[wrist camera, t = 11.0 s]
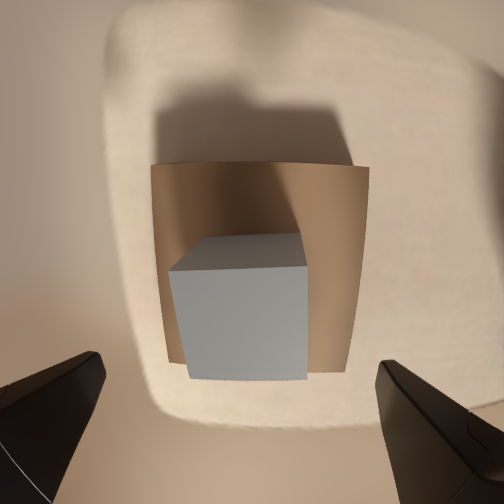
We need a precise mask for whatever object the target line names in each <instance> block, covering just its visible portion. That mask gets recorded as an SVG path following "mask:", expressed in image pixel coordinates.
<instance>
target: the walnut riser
mask: <svg viewBox="0 0 504 504" xmlns="http://www.w3.org/2000/svg"><path fill="white" fill-rule="evenodd" d="M151 185H152V209H153V226H154V240H155V253H156V264H157V275H158V284H159V293H160V302H161V310H162V318H163V325H164V333H165V339H166V346H167V352H168V359H169V362H171V363H179V364H186V359H185V355H184V351H183V346H182V341H181V337H180V332H179V327H178V322H177V317H176V312H175V307H174V302H173V297H172V291H171V286H170V280H169V274H168V271H169V270H170V269H171V268H172V267H173V266H174V265H175V264H176V263H177V262H178V261H179V260H180V259H181V258H182V257H183V256H184V255H185V254H186V253H187V252H188V251H189V250H190V249H191V248H192V247H193V246H194V245H195V244H196V243H197V242H198V241H199V240H200V239H201V238H202V237H219V236H237V235H256V234H276V233H298V232H301V237H302V242H303V247H304V251H305V256H306V261H307V267H308V366H307V372H345V368H346V363H347V358H348V353H349V348H350V343H351V337H352V331H353V325H354V319H355V313H356V307H357V300H358V293H359V286H360V278H361V270H362V261H363V252H364V242H365V232H366V219H367V206H368V189H369V167H361V166H349V165H334V164H315V163H290V162H199V163H174V164H157V165H151Z"/></svg>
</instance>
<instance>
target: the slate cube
mask: <svg viewBox="0 0 504 504" xmlns="http://www.w3.org/2000/svg"><path fill="white" fill-rule="evenodd" d="M168 274H169V280H170V286H171V291H172V297H173V302H174V307H175V312H176V317H177V322H178V327H179V332H180V337H181V341H182V346H183V351H184V355H185V359H186V364H187V368H188V372H189V376H190V379H207V380H235V381H282V380H307V366H308V267H307V261H306V256H305V251H304V247H303V242H302V237H301V232H298V233H276V234H256V235H237V236H219V237H202V238H201V239H200V240H199V241H198V242H197V243H196V244H195V245H194V246H193V247H192V248H191V249H190V250H189V251H188V252H187V253H186V254H185V255H184V256H183V257H182V258H181V259H180V260H179V261H178V262H177V263H176V264H175V265H174V266H173V267H172V268H171V269H170V270H169V271H168Z"/></svg>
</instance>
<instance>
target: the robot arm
mask: <svg viewBox="0 0 504 504" xmlns="http://www.w3.org/2000/svg"><path fill="white" fill-rule="evenodd" d="M105 379H106V370H105V367H104V364H103V362H102V358H101V355H100V354H99V353H98V352H94V351H87V352H84V353H82V354H80V355H77V356H75V357H73V358H70V359H68V360H66V361H64V362H61V363H59V364H56V365H54V366H52V367H49V368H47V369H45V370H42V371H40V372H38V373H35V374H33V375H30V376H28V377H26V378H23V379H21V380H18V381H16V382H14V383H11V384H10V385H6V386H4V387H1V388H0V504H52V503H53V501H54V499H55V496H56V494H57V491H58V489H59V486H60V484H61V482H62V479H63V477H64V475H65V472H66V470H67V468H68V465H69V463H70V461H71V459H72V457H73V454H74V452H75V450H76V447H77V446H78V443H79V441H80V439H81V437H82V434H83V433H84V430H85V428H86V426H87V424H88V422H89V420H90V418H91V416H92V413H93V411H94V409H95V406H96V403H97V401H98V398H99V395H100V392H101V390H102V387H103V384H104V381H105ZM375 389H376V395H377V401H378V408H379V414H380V421H381V427H382V432H383V436H384V439H385V443H386V447H387V451H388V455H389V459H390V463H391V467H392V471H393V475H394V479H395V483H396V488H397V492H398V496H399V501H400V504H504V432H503V431H501V430H499V429H498V428H496V427H494V426H492V425H490V424H489V423H487V422H486V421H484V420H482V419H481V418H479V417H478V416H476V415H475V414H473V413H472V412H469V410H467V409H466V408H464V407H463V406H461V405H460V404H458V403H457V402H455V401H454V400H452V399H451V398H449V397H448V396H446V395H445V394H444V393H442V392H441V391H439V390H438V389H436V388H435V387H433V386H432V385H430V384H429V383H427V382H426V381H424V380H423V379H421V378H420V377H418V376H417V375H416V374H414V373H413V372H411V371H410V370H408V369H407V368H405V367H404V366H402V365H401V364H399V363H398V362H397V361H395V360H382V361H381V362H380V364H379V368H378V373H377V377H376V382H375Z"/></svg>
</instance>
